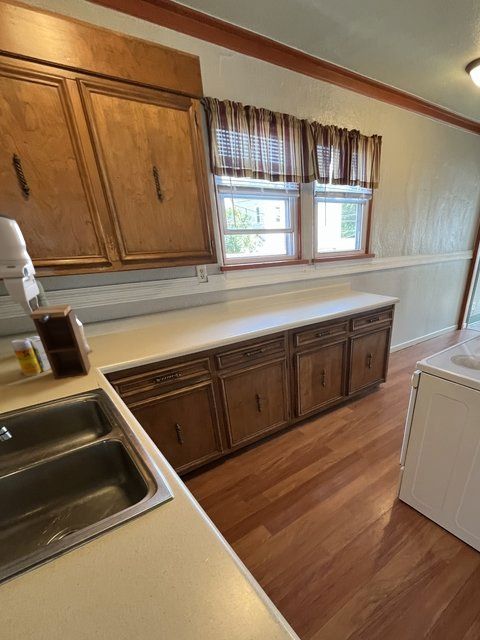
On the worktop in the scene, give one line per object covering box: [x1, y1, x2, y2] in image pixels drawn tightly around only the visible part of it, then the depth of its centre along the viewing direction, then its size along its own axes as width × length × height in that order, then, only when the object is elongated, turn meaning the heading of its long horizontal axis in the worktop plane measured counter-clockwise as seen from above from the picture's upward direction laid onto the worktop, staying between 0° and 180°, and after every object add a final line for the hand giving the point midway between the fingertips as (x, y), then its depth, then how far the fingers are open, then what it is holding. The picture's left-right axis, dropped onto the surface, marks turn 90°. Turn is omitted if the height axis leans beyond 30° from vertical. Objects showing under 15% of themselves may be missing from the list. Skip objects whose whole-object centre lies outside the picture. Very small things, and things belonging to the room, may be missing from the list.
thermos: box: [29, 278, 51, 311], centre depth 165 cm, size 9×12×35 cm
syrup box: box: [25, 335, 52, 372], centre depth 145 cm, size 6×6×14 cm
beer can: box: [11, 338, 42, 377], centre depth 139 cm, size 6×6×15 cm
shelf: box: [29, 304, 72, 323], centre depth 126 cm, size 25×11×2 cm, turn 25°
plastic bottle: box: [74, 313, 91, 355], centre depth 161 cm, size 6×7×20 cm
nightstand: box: [32, 308, 92, 380], centre depth 138 cm, size 12×12×26 cm
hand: (33, 311), depth 114 cm, fingers open, 8 cm apart
